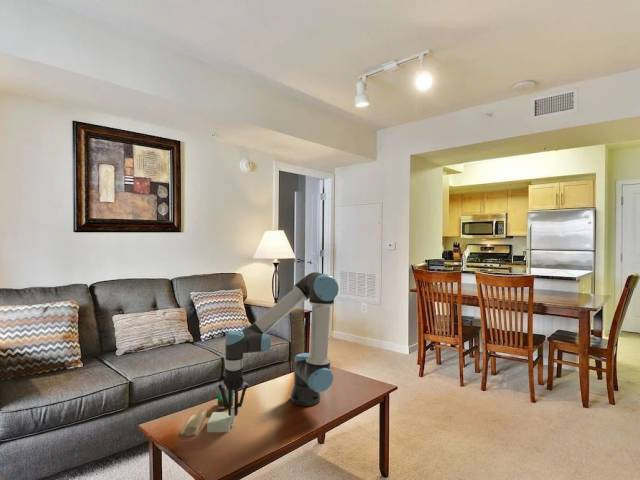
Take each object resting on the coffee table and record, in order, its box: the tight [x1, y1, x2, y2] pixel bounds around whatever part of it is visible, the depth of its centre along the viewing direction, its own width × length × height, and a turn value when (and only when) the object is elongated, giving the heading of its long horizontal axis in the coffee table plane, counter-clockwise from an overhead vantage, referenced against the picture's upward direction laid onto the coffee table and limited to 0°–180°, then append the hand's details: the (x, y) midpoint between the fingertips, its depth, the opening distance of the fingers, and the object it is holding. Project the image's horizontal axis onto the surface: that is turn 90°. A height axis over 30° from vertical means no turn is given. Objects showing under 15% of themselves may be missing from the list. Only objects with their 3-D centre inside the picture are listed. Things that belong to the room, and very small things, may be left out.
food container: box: [216, 386, 235, 411], centre depth 183 cm, size 12×6×10 cm, turn 168°
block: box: [206, 411, 233, 433], centre depth 164 cm, size 9×10×4 cm
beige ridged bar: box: [179, 408, 208, 437], centre depth 164 cm, size 6×16×4 cm, turn 2°
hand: (232, 422), depth 164 cm, fingers closed
